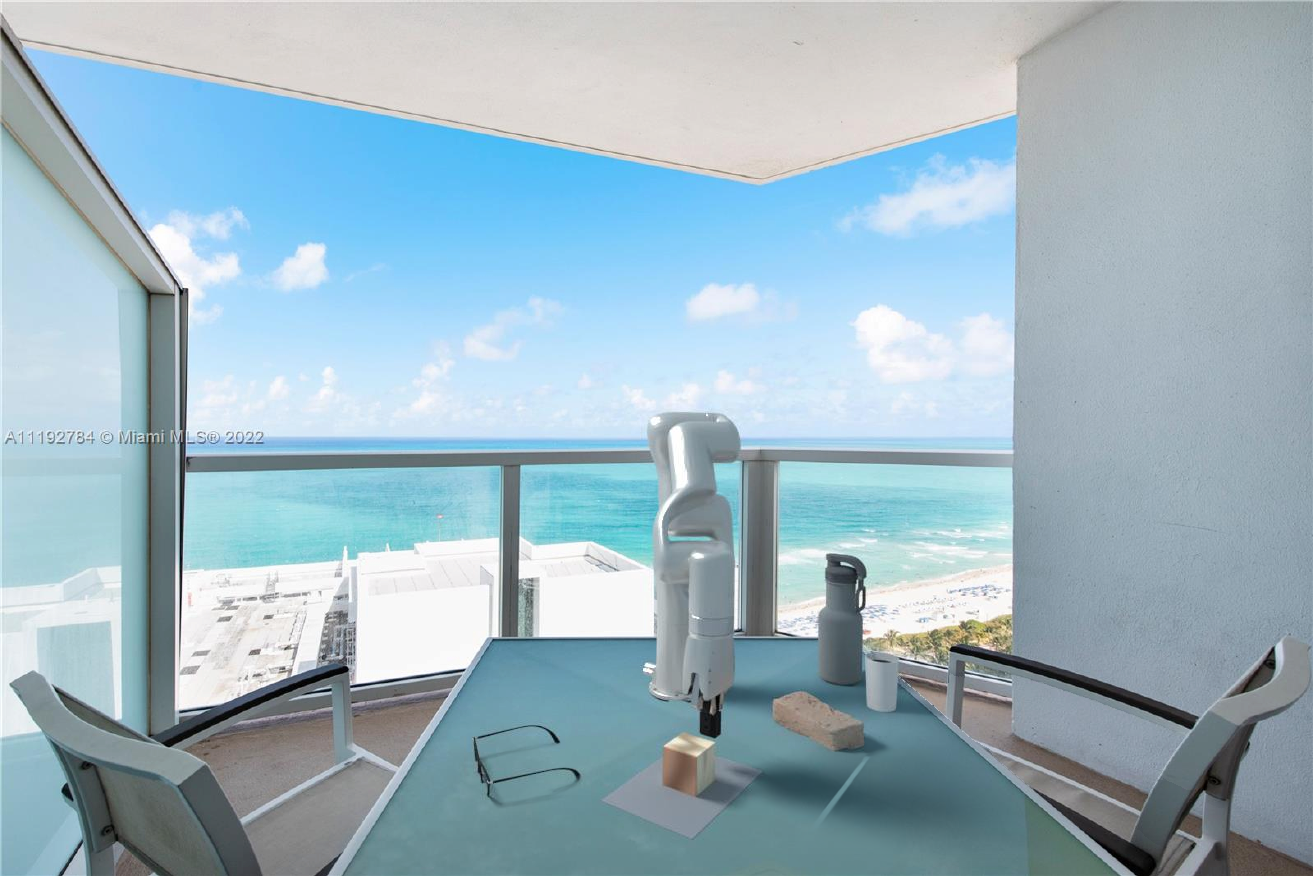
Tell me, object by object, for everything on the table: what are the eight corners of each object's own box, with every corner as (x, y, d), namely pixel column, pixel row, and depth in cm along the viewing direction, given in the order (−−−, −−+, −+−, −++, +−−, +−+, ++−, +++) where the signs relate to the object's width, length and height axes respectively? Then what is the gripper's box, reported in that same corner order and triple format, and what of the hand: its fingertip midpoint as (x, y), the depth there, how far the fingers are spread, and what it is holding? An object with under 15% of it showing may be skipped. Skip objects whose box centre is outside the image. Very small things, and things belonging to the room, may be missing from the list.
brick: (867, 745, 118) (867, 719, 118) (834, 757, 114) (834, 730, 114) (801, 712, 132) (802, 689, 132) (770, 721, 128) (770, 697, 128)
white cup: (894, 715, 130) (895, 665, 130) (860, 708, 133) (861, 659, 133) (901, 704, 135) (902, 656, 135) (868, 697, 139) (869, 650, 139)
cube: (682, 768, 107) (662, 784, 102) (683, 732, 107) (662, 746, 102) (714, 780, 104) (695, 797, 99) (715, 742, 104) (695, 757, 99)
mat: (600, 804, 98) (600, 800, 98) (680, 747, 116) (680, 743, 116) (692, 843, 89) (692, 839, 89) (762, 774, 107) (762, 771, 107)
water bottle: (868, 676, 151) (870, 554, 151) (857, 690, 143) (858, 561, 142) (825, 667, 156) (826, 550, 156) (811, 680, 148) (813, 556, 148)
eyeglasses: (468, 756, 113) (469, 733, 113) (558, 739, 119) (558, 718, 119) (485, 807, 98) (485, 780, 98) (586, 785, 104) (586, 760, 104)
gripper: (713, 610, 117) (712, 713, 117) (667, 631, 104) (666, 745, 104) (752, 617, 112) (750, 724, 113) (708, 639, 100) (707, 759, 100)
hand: (710, 734), depth 109 cm, fingers closed
